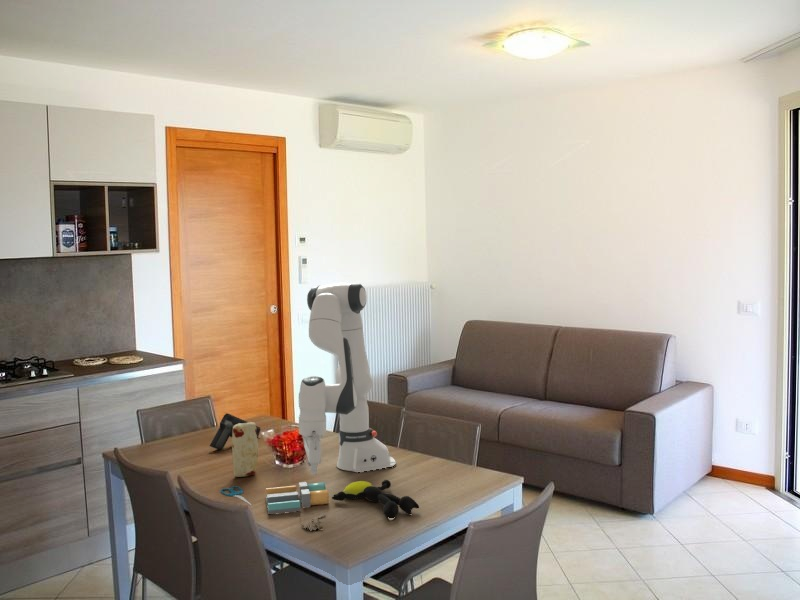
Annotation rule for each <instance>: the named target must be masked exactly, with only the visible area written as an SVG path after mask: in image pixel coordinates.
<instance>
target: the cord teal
mask: <svg viewBox="0 0 800 600" xmlns="http://www.w3.org/2000/svg"><path fill="white" fill-rule="evenodd" d="M326 488H327V487H326V483H325V481H324V482H315V483H313V482H312V483H307V482H306V481H300V482H298V497H299V496H300V497H299V500H300V501H301V490H304V489H309V491H319V490H327V489H326Z"/></svg>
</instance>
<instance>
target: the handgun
mask: <svg viewBox="0 0 800 600" xmlns="http://www.w3.org/2000/svg"><path fill="white" fill-rule="evenodd" d="M248 422H249V421H247V420H243V419H241V418H239V417H237V416H235V415H233V414H230V413H227V412H226V413H225V414H224V415H223V417H222V418H221V421H220V422H219V427H218V430H217V431H216V433H215V434H214V437H213V438H212V439H211V442H210V444H209V447H210V448H213V449H216V450H219V449H220V451H222V450H221V449H224V447H225V446H226V444H227V442H228V440H229V438H232V434H233V426H234V425H236V424H239V423H248ZM256 430H257V436H258V437H259V435H260V432H261V427H260V426H257V425H256Z"/></svg>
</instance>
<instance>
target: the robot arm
mask: <svg viewBox="0 0 800 600" xmlns="http://www.w3.org/2000/svg"><path fill="white" fill-rule="evenodd" d="M367 298H368V297H367V292H366V289H365V286H363V285H362V283H358V282H351V283H347V282H338V283H333V284H325V285H317V286H313V287H311V288H310V290H309V291H308V293H307V295H306V302H307V306H308V309H309V310H310V314H309V320H308V321H309V322H308V338H309V340H310V341H311V343H312V345H314V346H315V347H317V348H318V349H320V350H322V351H324V352H327V353H329V354H331V355H333V356H335V357H336V358H337V362H338V365H339V366H338V367H337V369H336V371H335V383H326V382H325V379H324V378H322V377H321V376H315V375H314V376H313V375H311V376H307V377H305V378H303V379H302V380H301V381H300V385H299V393H298V407H299V416H298V434H299V435H301V436H302V440H303V441H302V442H303V447H304V450H305V453H306V457H307V465H308V467H310V474H311V475H312V476H316V475H317V473H318V465H320V464H321V463H322V443H321V442H322V441H321V439H322V438H323V435H326V433H327V415H326V413H328V414H331V413H332V414H339V429H338V444H339V451H338V458H337V463H336V467H337V468H338V469H340V470H342V471H349V472H353V473H358V472H360V473H365V472H364V471H367V472H371V471H370V470H373V471H377V470H376V469H379V470H383V469H382V468H385V469H387V468H386V467H391V466H394V465H395V464H396V460H395V459H394V457H392V456H390V452H389V449H388V447H387V446H386V445H385V444H384V443H383V442H381V441H380V440H378V439H377V438H375V437H377V436H378V432H377V431H376V430H374V429H373V428H371V427H369V426H370V422H369V421H370V420H369V418H370V417H369V414H370V413H369V406H368V405H369V404H368V401H367V394H369V393H370V391H371V389H372V386H373V381H372V380H373V379H372V376H371V371H370V365H369V360H368V355H367V352H366V345H365V337H364V327H363V326H364V325H363V319H362V314H361V311H363V310H364V308H365V307H366V304H367ZM322 440H323V439H322ZM395 466H396V465H395ZM395 466H394V467H395Z"/></svg>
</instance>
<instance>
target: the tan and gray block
mask: <svg viewBox="0 0 800 600" xmlns="http://www.w3.org/2000/svg"><path fill="white" fill-rule="evenodd" d="M329 496H330V495H329V490H328V489H326V490H319V491H309V489H304V490H301V500H300V504H301V503H302V504H301V507H310V508H311V506H316V505H317V506H319V505H327V504H330V503H329V502H330V497H329Z"/></svg>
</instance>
